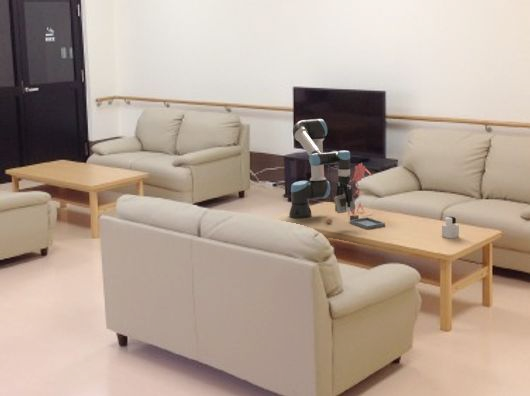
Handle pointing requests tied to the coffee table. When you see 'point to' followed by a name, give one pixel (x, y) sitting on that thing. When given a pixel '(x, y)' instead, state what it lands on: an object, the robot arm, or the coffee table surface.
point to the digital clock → (342, 204)
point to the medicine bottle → (450, 228)
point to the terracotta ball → (328, 220)
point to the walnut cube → (354, 217)
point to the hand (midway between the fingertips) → (344, 210)
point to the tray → (367, 223)
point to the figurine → (359, 174)
